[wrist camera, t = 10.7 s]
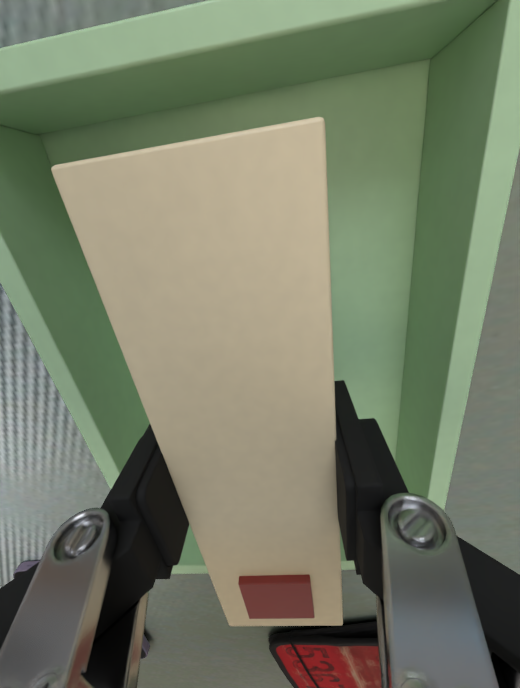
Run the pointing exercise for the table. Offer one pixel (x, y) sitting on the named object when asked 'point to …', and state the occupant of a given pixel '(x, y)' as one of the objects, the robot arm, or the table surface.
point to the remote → (230, 348)
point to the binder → (329, 656)
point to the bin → (342, 181)
